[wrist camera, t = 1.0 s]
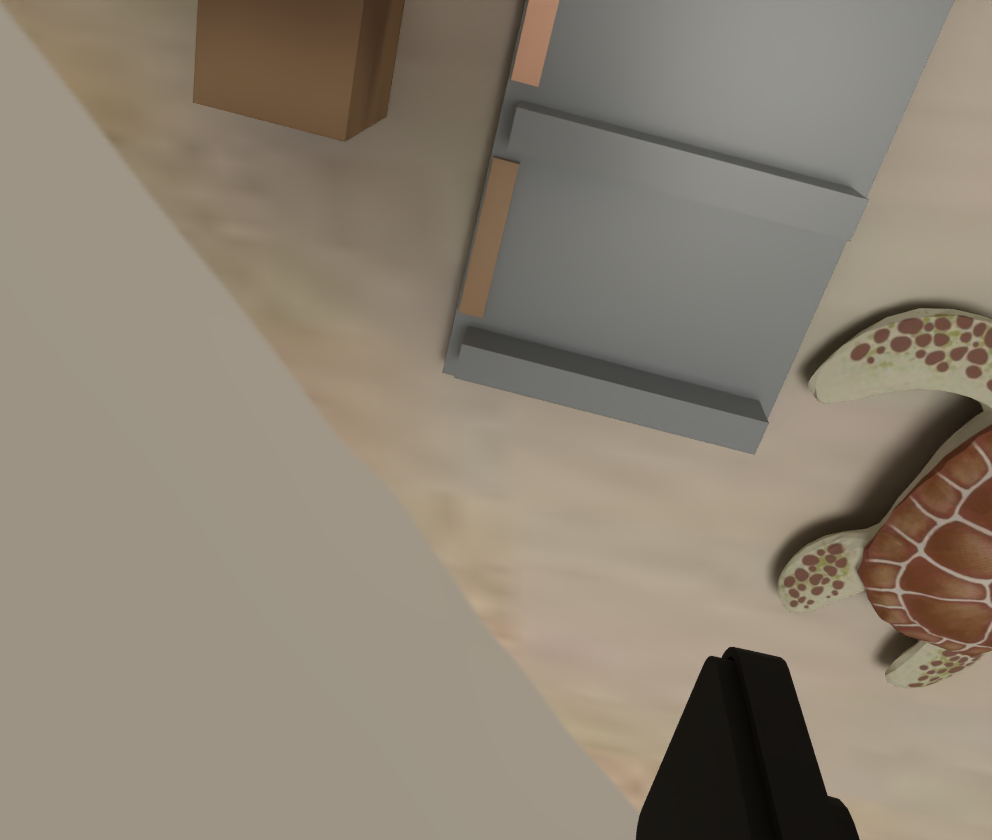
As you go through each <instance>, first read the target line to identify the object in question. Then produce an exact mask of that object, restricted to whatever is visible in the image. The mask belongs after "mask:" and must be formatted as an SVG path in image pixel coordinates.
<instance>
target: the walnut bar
mask: <svg viewBox="0 0 992 840" xmlns="http://www.w3.org/2000/svg"><path fill="white" fill-rule="evenodd" d="M404 2H405V0H198V15H197V34H196V53H195V72H194V92H193V103H197V104H201V105H205V106H209V107H213V108H217V109H221V110H224V111H228V112H232V113H236V114H240V115H244V116H248V117H251V118H255V119H259V120H263V121H267V122H271V123H275V124H279V125H282V126H286V127H290V128H294V129H298V130H302V131H306V132H310V133H313V134H317V135H321V136H325V137H329V138H333V139H337V140H340V141H344V142H345V141H347V140H348V139H350V138H352V137H353V136H355V135H357V134H358V133H360V132H362V131H363V130H365V129H367V128H368V127H370V126H372V125H373V124H375V123H377V122H378V121H380V120H382V119H383V118H385V117H386V115H387V109H388V103H389V96H390V90H391V84H392V77H393V71H394V65H395V58H396V52H397V46H398V40H399V33H400V27H401V21H402V14H403V8H404Z"/></svg>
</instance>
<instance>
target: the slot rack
mask: <svg viewBox="0 0 992 840" xmlns="http://www.w3.org/2000/svg"><path fill="white" fill-rule="evenodd" d="M953 2H954V0H526V2H525V7H524V11H523V15H522V20H521V24H520V29H519V33H518V38H517V42H516V47H515V51H514V56H513V60H512V64H511V69H510V73H509V78H508V82H507V87H506V91H505V96H504V100H503V105H502V109H501V114H500V118H499V122H498V127H497V131H496V136H495V140H494V145H493V149H492V154H491V158H490V163H489V167H488V172H487V176H486V180H485V185H484V189H483V194H482V198H481V203H480V207H479V212H478V216H477V221H476V225H475V229H474V234H473V238H472V243H471V247H470V252H469V256H468V261H467V265H466V270H465V274H464V279H463V283H462V287H461V292H460V296H459V301H458V305H457V310H456V314H455V319H454V323H453V328H452V332H451V337H450V341H449V345H448V350H447V354H446V359H445V363H444V368H443V372H442V373H446V374H449V375H453V376H454V378H458V379H461V380H465V381H469V382H473V383H477V384H481V385H485V386H489V387H493V388H496V389H500V390H504V391H508V392H512V393H516V394H520V395H524V396H528V397H532V398H535V399H539V400H543V401H547V402H551V403H555V404H559V405H563V406H567V407H571V408H574V409H578V410H582V411H586V412H590V413H594V414H598V415H602V416H606V417H610V418H613V419H617V420H621V421H625V422H629V423H633V424H637V425H641V426H645V427H648V428H652V429H656V430H660V431H664V432H668V433H672V434H676V435H680V436H684V437H687V438H691V439H695V440H699V441H703V442H707V443H711V444H715V445H719V446H723V447H726V448H730V449H734V450H738V451H742V452H746V453H750V454H754V455H755V453H756V450H757V448H758V446H759V444H760V441H761V439H762V437H763V435H764V433H765V430H766V428H767V426H768V424H769V422H768V420H767V419H768V417H769V415H770V412H771V410H772V408H773V406H774V403H775V401H776V399H777V397H778V394H779V392H780V390H781V388H782V385H783V383H784V381H785V379H786V377H787V374H788V372H789V370H790V368H791V365H792V363H793V361H794V359H795V356H796V354H797V352H798V350H799V347H800V345H801V343H802V341H803V338H804V336H805V334H806V332H807V329H808V327H809V325H810V323H811V320H812V318H813V316H814V314H815V312H816V309H817V307H818V305H819V303H820V300H821V298H822V296H823V294H824V291H825V289H826V287H827V285H828V282H829V280H830V278H831V276H832V273H833V271H834V269H835V267H836V264H837V262H838V260H839V258H840V255H841V253H842V251H843V249H844V247H845V244H846V242H847V241H851V238H852V236H853V234H854V232H855V229H856V227H857V225H858V223H859V221H860V218H861V216H862V214H863V212H864V209H865V207H866V205H867V203H868V199H867V198H866V197H867V195H868V193H869V190H870V188H871V186H872V184H873V181H874V179H875V177H876V175H877V173H878V170H879V168H880V166H881V164H882V161H883V159H884V157H885V155H886V152H887V150H888V148H889V146H890V143H891V141H892V139H893V137H894V134H895V132H896V130H897V128H898V125H899V123H900V121H901V119H902V116H903V114H904V112H905V110H906V108H907V105H908V103H909V101H910V99H911V96H912V94H913V92H914V90H915V87H916V85H917V83H918V81H919V78H920V76H921V74H922V72H923V69H924V67H925V65H926V63H927V60H928V58H929V56H930V54H931V51H932V49H933V47H934V45H935V43H936V40H937V38H938V36H939V34H940V31H941V29H942V27H943V25H944V22H945V20H946V18H947V16H948V13H949V11H950V9H951V7H952V4H953Z"/></svg>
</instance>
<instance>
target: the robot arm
mask: <svg viewBox="0 0 992 840" xmlns="http://www.w3.org/2000/svg"><path fill="white" fill-rule="evenodd" d="M636 833H637V834H636V840H860V839H859V836H858V833H857V830H856V827H855V824H854V822H853V819H852V817H851V815H850V813H849V811H848V808H847V807H846V806H845V805H844V804H843V803H842V802H841V801H840V799H837V798H834V797H830V796H827V792H826V789H825V786H824V782H823V779H822V776H821V773H820V769H819V766H818V763H817V760H816V756H815V753H814V750H813V746H812V743H811V740H810V737H809V733H808V730H807V727H806V724H805V720H804V717H803V714H802V710H801V707H800V704H799V701H798V697H797V694H796V691H795V688H794V684H793V681H792V678H791V675H790V671H789V668H788V666H787V664H786V662H785V660H783V659H782V658H781V657H777V656H772V655H768V654H763V653H759V652H754V651H750V650H745V649H741V648H736V647H729V648H728V649H727V650H726V651H725V652H724V654H723V656H722V658H719V657H714V656H709V657H708V658H707V659H706V661H705V663H704V665H703V667H702V669H701V672H700V674H699V676H698V679H697V681H696V683H695V686H694V688H693V690H692V693H691V695H690V697H689V700H688V702H687V704H686V707H685V709H684V711H683V714H682V716H681V718H680V721H679V723H678V726H677V728H676V730H675V733H674V735H673V737H672V740H671V742H670V744H669V747H668V749H667V751H666V754H665V756H664V758H663V761H662V763H661V765H660V768H659V770H658V772H657V775H656V777H655V779H654V782H653V784H652V786H651V789H650V791H649V793H648V796H647V798H646V801H645V803H644V805H643V808H642V810H641V813H640V816H639V821H638V825H637V832H636Z"/></svg>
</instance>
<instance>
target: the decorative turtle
mask: <svg viewBox="0 0 992 840" xmlns="http://www.w3.org/2000/svg"><path fill="white" fill-rule="evenodd" d="M808 388H809V389H810V391H811V392H812V393H813V395H814V396H815V398H816V399H817V400H818V401H819V402H821V403H837V402H843V401H849V400H854V399H859V398H864V397H869V396H874V395H879V394H884V393H889V392H895V391H902V390H909V389H934V390H940V391H947V392H953V393H956V394H960V395H963V396H967V397H970V398H973V399H975V400H977V401H978V402H979V403H980V404H981V405H982V408H983V412H981V413H980V414H978V415H977V416H975V417H974V418H973V419H971V420H970V421H969V422H968V423H966V424H965V425H964V426H963V427H961V428H960V429H959V430H958V431H956V432H955V433H954V434H953V435H952V436H951V437H950V438H949V439H948V440H947V441H946V442H945V443H944V444H943V445H942V446H941V447H940V448H939V449H938V450H937V451H936V453H935V454H934V455H933V457H932V458H931V459H930V461H929V462H928V463H927V464H926V466H925V467H924V468H923V470H922V471H921V472H920V474H919V475H918V476H917V477H916V478H915V479H914V481H913V482H912V483H911V484H910V485H909V486H908V487H907V489H906V490H905V491H904V492H903V493H902V494H901V495H900V496H899V497H898V499H897V500H896V501H895V503H894V504H893V506H892V508H891V509H890V511H889V512H888V514H887V515H886V516H885V517H884V518H883V519H882V521H881V522H880V523H879V524H876V525H874V526H872V527H869V528H867V529H859V530H851V531H844V532H839V533H834V534H830V535H825V536H823V537H821V538H819V539H817V540H815V541H813V542H811V543H809V544H807V545H805V546H804V547H803V548H802V549H801V550H800V551H798V552H797V553H796V554H795V555H794V556H793V557H792V558H791V560H790V561H789V562H788V563H787V565H786V566H785V568H784V569H783V571H782V572H781V574H780V576H779V579H778V584H777V586H778V593H779V598H780V600H781V603H782V606H783V607H784V608H785V609H787V610H788V611H789V612H793V613H806V612H809V611H813V610H815V609H818V608H820V607H822V606H824V605H827V604H829V603H832V602H835V601H837V600H840V599H843V598H846V597H849V596H852V595H855V594H857V593H860V592H863V591H865V590H866V592H867V596H868V599H869V601H870V602H871V604H872V606H873V608H874V609H875V611H876V613H877V614H878V616H879V617H880V618H881V619H882V620H884V621H886V622H888V623H890V624H891V625H892V626H893V627H894V628H895V629H896V630H897V631H899V632H901V633H903V634H904V635H905V636H909V637H912V638H915V639H918V640H919V641H918V642H917V643H916V644H915V645H914V646H912V647H910V648H909V649H907V650H906V651H905V652H904V653H903V654H901V655H900V656H899V657H898V658H897V659H896V660H895V661H894V662H893V663H892V664H891V666H890V667H889V668H888V669H887V670H886V672H885V677H886V680H887V682H888V683H890V684H892V685H893V686H895V687H902V688H916V687H924V686H927V685H931V684H933V683H936V682H938V681H941V680H943V679H946V678H949V677H951V676H953V675H955V674H957V673H959V672H961V671H963V670H965V669H967V668H968V667H970V666H971V665H972V664H974V663H975V662H977V661H978V660H979V659H980V658H981V657H982V656H983V655H984V654H985V652H989V651H992V319H990V318H987V317H985V316H981V315H977V314H973V313H968V312H964V311H960V310H955V309H927V308H919V309H915V310H911V311H908V312H904V313H900V314H897V315H893V316H889V317H886V318H884V319H883V320H881V321H879V322H877V323H875V324H874V325H872V326H870V327H868V328H866V329H864V330H863V331H861V332H859V333H858V334H857V335H856V336H854V337H853V338H852V339H850V340H849V341H848V342H846V343H845V344H844V345H842V346H841V347H840V348H839V349H838V350H837V351H836V352H834V353H833V354H832V355H831V356H830V357H829V358H828V359H827V360H826V361H825V362H824V363H823V364H822V365H821V366H820V367H819V368H818V369H817V370H816V372H815V373H814V375H813V376H812V377H811V379H810V381H809V384H808Z"/></svg>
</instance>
